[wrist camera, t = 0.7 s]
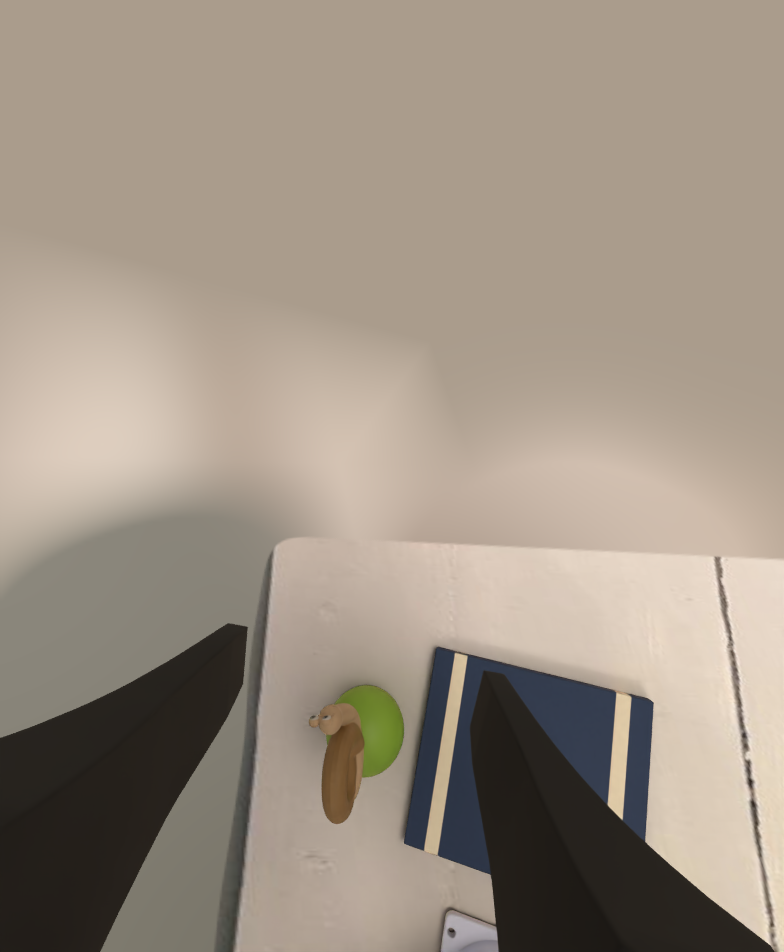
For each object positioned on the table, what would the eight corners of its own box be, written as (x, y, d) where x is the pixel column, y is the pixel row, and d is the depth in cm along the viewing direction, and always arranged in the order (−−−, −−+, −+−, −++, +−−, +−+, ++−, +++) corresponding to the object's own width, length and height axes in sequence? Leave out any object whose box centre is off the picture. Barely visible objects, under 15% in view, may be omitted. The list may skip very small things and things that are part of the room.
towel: (634, 918, 25) (640, 929, 24) (405, 836, 28) (403, 844, 27) (648, 698, 28) (654, 702, 27) (436, 646, 31) (436, 648, 30)
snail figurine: (404, 662, 31) (371, 716, 19) (411, 755, 29) (379, 875, 18) (337, 664, 32) (267, 717, 20) (340, 755, 30) (266, 869, 19)
